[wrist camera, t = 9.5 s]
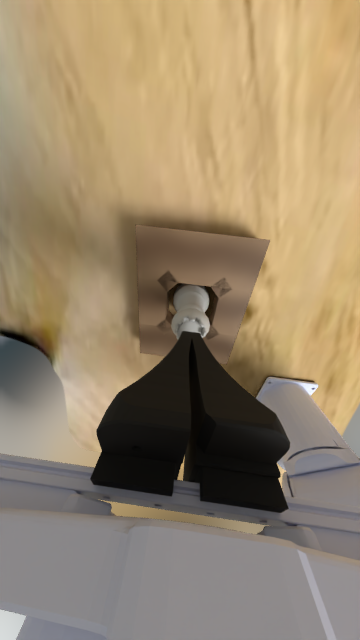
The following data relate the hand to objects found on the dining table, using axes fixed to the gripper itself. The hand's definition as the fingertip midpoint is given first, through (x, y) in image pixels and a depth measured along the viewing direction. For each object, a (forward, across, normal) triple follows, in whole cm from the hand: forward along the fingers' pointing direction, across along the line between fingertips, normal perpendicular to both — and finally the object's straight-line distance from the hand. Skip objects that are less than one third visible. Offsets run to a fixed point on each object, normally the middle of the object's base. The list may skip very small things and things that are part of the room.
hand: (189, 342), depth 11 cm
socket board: (+9, 0, 0) cm, 9 cm away
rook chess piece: (+9, 0, 0) cm, 9 cm away
